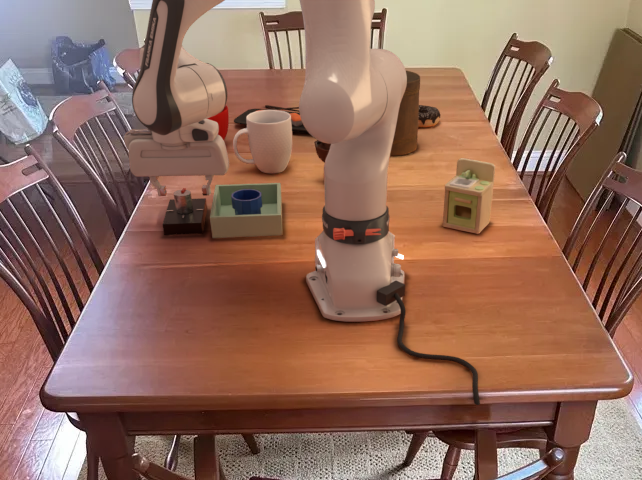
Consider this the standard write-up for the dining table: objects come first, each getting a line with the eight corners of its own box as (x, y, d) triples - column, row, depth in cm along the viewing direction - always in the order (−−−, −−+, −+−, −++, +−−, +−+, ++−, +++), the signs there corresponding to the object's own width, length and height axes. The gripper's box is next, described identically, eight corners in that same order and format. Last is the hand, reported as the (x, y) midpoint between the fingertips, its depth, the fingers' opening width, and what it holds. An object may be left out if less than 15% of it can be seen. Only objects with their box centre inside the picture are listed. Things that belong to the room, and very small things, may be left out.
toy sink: (440, 227, 152) (445, 167, 144) (453, 215, 157) (458, 156, 149) (477, 236, 148) (484, 175, 140) (489, 223, 153) (497, 163, 145)
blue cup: (263, 224, 152) (261, 200, 148) (233, 225, 151) (230, 201, 148) (263, 212, 157) (261, 188, 153) (234, 213, 156) (232, 189, 153)
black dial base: (203, 236, 149) (201, 222, 147) (164, 237, 148) (162, 223, 146) (207, 210, 159) (205, 197, 157) (171, 212, 158) (169, 198, 156)
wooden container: (406, 136, 199) (410, 51, 185) (424, 153, 188) (430, 65, 174) (356, 140, 196) (356, 55, 182) (371, 158, 185) (372, 69, 171)
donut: (438, 116, 213) (439, 103, 210) (441, 129, 204) (442, 115, 201) (401, 116, 213) (402, 103, 211) (403, 129, 204) (404, 115, 201)
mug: (239, 181, 173) (234, 126, 165) (232, 165, 181) (226, 113, 173) (298, 174, 176) (296, 120, 168) (288, 159, 184) (285, 107, 176)
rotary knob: (190, 214, 150) (187, 195, 147) (174, 213, 150) (170, 194, 148) (195, 207, 153) (192, 188, 150) (179, 206, 153) (176, 187, 150)
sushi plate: (230, 128, 205) (229, 114, 202) (271, 100, 227) (270, 87, 225) (324, 138, 197) (323, 124, 195) (356, 108, 220) (356, 95, 217)
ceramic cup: (192, 162, 183) (187, 122, 177) (179, 142, 195) (174, 104, 189) (241, 155, 187) (237, 116, 181) (225, 136, 199) (221, 99, 193)
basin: (282, 237, 148) (281, 214, 145) (212, 240, 147) (209, 217, 144) (281, 204, 162) (280, 182, 159) (218, 206, 161) (215, 184, 158)
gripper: (117, 134, 138) (132, 201, 147) (221, 132, 138) (229, 200, 147) (126, 124, 143) (139, 190, 152) (225, 122, 143) (234, 188, 152)
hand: (184, 195), depth 149 cm, fingers open, 8 cm apart
